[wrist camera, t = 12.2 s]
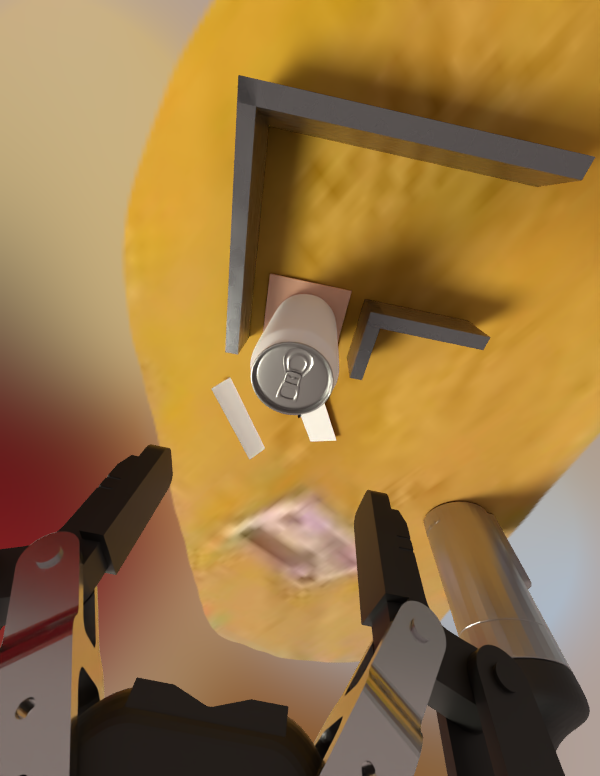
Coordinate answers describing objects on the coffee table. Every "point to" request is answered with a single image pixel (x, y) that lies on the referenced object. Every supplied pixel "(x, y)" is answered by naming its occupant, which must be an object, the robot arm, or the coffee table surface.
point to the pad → (289, 287)
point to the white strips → (245, 430)
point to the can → (297, 356)
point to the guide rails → (382, 133)
